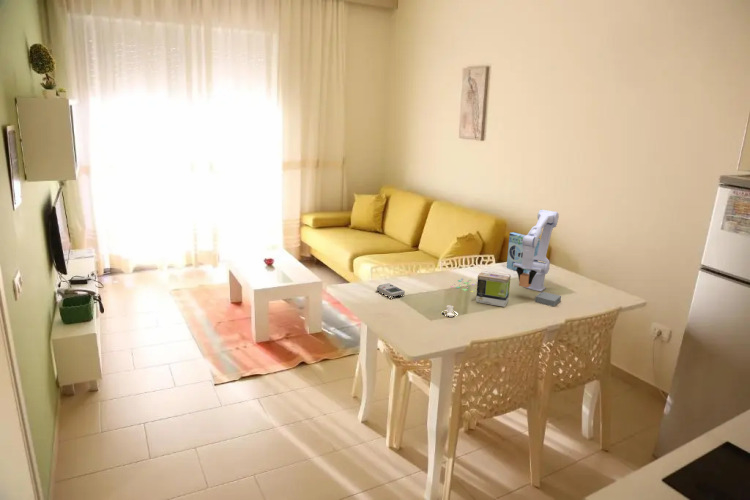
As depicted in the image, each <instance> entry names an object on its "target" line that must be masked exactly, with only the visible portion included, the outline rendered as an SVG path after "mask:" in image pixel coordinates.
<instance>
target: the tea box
mask: <svg viewBox="0 0 750 500" xmlns="http://www.w3.org/2000/svg"><path fill="white" fill-rule="evenodd" d="M510 284H511V274H508V273H501V272H494V271H485V270H482V271H481V272H480V273H479V274H478V275H477V283H476V296H475V297H476V298H475V302H476V303H480V304H486V305H492V306H498V307H503V308H505V307H506V306H507V304H508V302H509V298H510V297H509V296H510V286H511V285H510Z"/></svg>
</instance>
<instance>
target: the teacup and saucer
mask: <svg viewBox="0 0 750 500" xmlns="http://www.w3.org/2000/svg"><path fill="white" fill-rule="evenodd" d="M443 311H447V312H446V314H445V317H448V316H449V317H450V318H453V316H454V315H456V314H457V315H456V316H455V317H457V316H458V315H459V313H458V312H457V311H455V310H454V305H452V304H451V305H449V304H448V305H446V310H443ZM443 311H441V313H442V312H443ZM453 311H454V312H455V313H456V314H455V313H454V312H453ZM446 315H447V316H446Z"/></svg>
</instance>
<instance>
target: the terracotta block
mask: <svg viewBox="0 0 750 500" xmlns="http://www.w3.org/2000/svg"><path fill="white" fill-rule="evenodd" d="M518 286H519V287H524V288H525V287H527V288H526V289H528V287H529V286H531V284H529V274H527V273H522V274H521V275H520V280H519V279H518Z"/></svg>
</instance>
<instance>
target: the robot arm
mask: <svg viewBox="0 0 750 500" xmlns="http://www.w3.org/2000/svg"><path fill="white" fill-rule="evenodd" d="M559 215H560V214H559V212H558V211H554V210H548V209H547V210H546V209H541V208H540V210H538V213H537V222H536V224H535V225H533V226H532V227H531V228H530V230H529V232H528V233H527V234H525V235H526V236H524V237H523V240H522V245H523V247H522V248H523V256H522V264H519V263H514V264H513V267H517V269H516V274H517V277H518V281H519V280H520V275H521V274H522V273H523V271H524V269H526V270H530V271H529V272H528V273H527V274H529V284H531V286H529V287H528V288H527V287H524V288H525V289H529V290H533V291H537V292H542V291H544V290H545V289H546V288H547V287H546V286H545V277H546V275H547V274H549V272H550V264H551V262H550V260H549V259H548V257H547V253H548V249H549V245H550V240H551V237H552V233H553V229H554V228H556V227H557V225H558V222H559V217H560V216H559ZM540 236H541V237H540ZM538 238H540V244H539V249H538V253H537V255H536V256H534V252H535V247H536V246H537V243H538Z"/></svg>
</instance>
